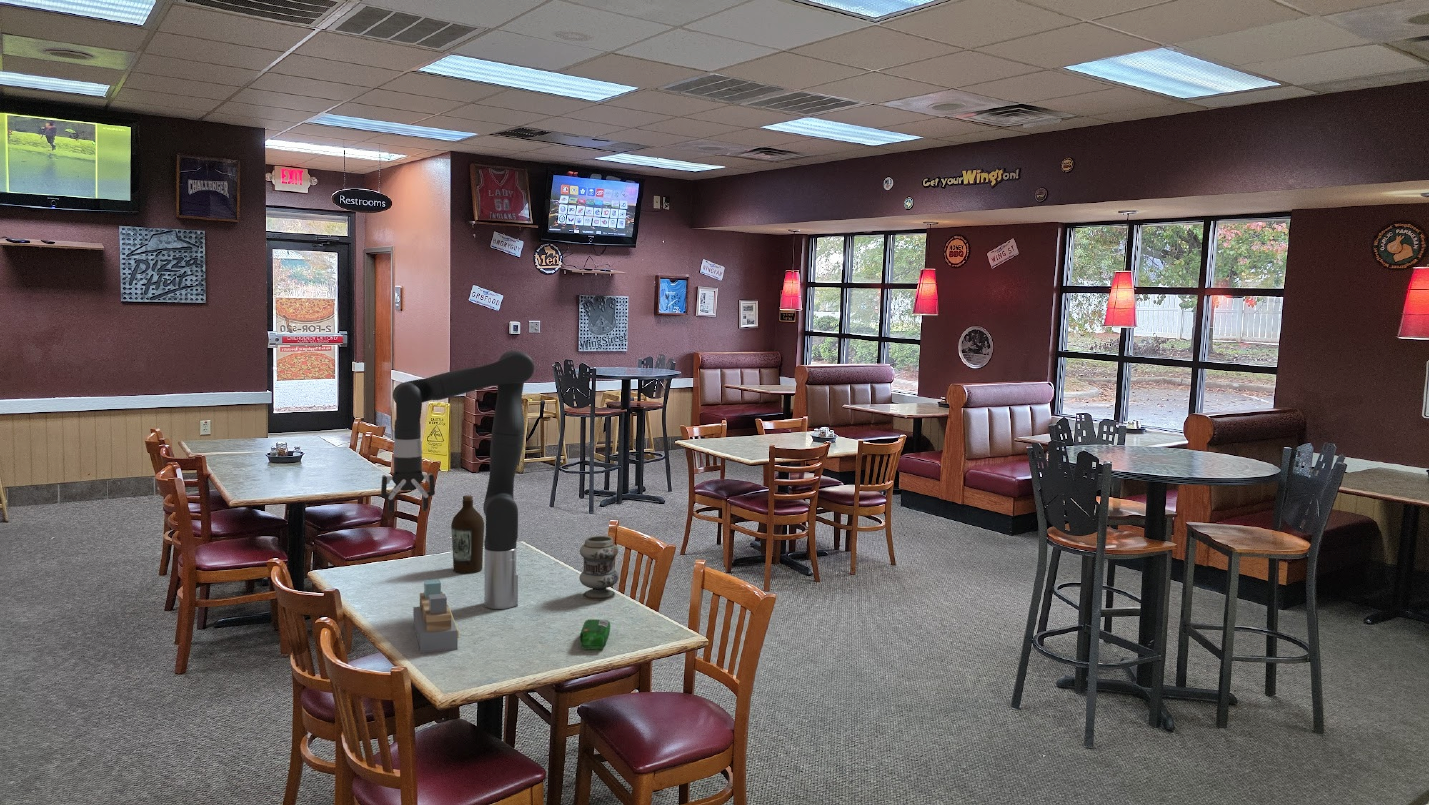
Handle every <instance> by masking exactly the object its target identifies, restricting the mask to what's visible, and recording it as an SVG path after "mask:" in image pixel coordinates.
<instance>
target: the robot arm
mask: <svg viewBox="0 0 1429 805" xmlns="http://www.w3.org/2000/svg"><path fill="white" fill-rule="evenodd" d="M534 372H535V363H534V360H533V359H532V357H531V356H529V354H526V353H525V352H523V351H518V350H509V351H506V352H504V353H503V354H502V355H501V356H500V358H499V360H497V361H495V362H492V363H489V364H485V365H480V366H475V367H470V368H462V369H457V370H453V371H447V372H442V373H440V374H436V375H431V376H429V377H426V378H425V377H424V378H419V379H413V380H408V381H405V382H404V381H403V382H401V383H399V384H398V385H396V386H395V387H394V388H393V392H392V398H393V401H394V403H395V409H396V410H395V411H396V414H395V415H396V418H395V420H394V425H393V426H394V428H393V431H394V432H393V433H394V436H393V437H394V442H393V474H392V475H382V476H381V486H380V487H381V488H380V489H381V490H380V496H381V498H383V499H387V504H388V508H387V509H388V511H389V512H390V514H395V502H394V501H395V500H394V498H395V496H396V495H397V494H399V491H402V492H406V491H412V492H413V491H415V490H418V492H420V494H421V495H422V501H421V502H422V511H423V512H426V510H428V509H429V497H432V496H435V493H436V490H435V488H436V487H435V476H434V475H433V474H434V473H431V472H430V473H428V474H423V445H422V438H421V437H422V433H421V432H422V430H421V429H422V428H421V426H422V425H421V418H422V409H423V408H422V407H423V403H427V402H429V401H441V400H445V399H450V398H452V397H457V396H459V395H463V394H467V393H470V392H473V391H478V390H480V389H485V388H489V387H490V388H491V387H495V386H497V392H496V393H497V396H496V401H495V403H496V404H495V409H494V415H493V420H492V421H493V422H492V429H491V435H490V436H491V437H490V449H489V452H490V454H489V477H488V483H487V487H486V488H487V489H486V493H485V497H484V501H483V506H482V508H483V509H482V510H483V514H484V516H485V535H484V536H485V537H484V540H483V559H484V562H483V564H484V565H483V566H484V573H483V574H484V576H483V577H484V583H483V584H484V585H483V586H484V589H483V590H484V606H485V608H487V609H492V610H493V609H494V610H505V609H510V608H513V607H517V606H519V595H518V594H519V575H518V573H517V541H518V538H519V537H518V536H519V534H518V532H519V508H518V504H517V503H516V501H515V498H514V496H515V495H514V491H515V490H514V489H515V488H514V486H515V485H514V484H515V476H516V472H517V468H518V465H519V462H520V459H521V456H522V453H523V447H524V438H525V436H524V435H525V418H524V411H523V410H524V409H523V401H522V400H523V399H522V398H523V390H524V384H525V382H527V381H528V380H530V379H531V378H532V376H533V374H534ZM424 480H425V481H426V482H427V483H428V487H429V490H428V491H426V490H425V489H424V487H423V486H422V485H421V484H422V482H423V481H424ZM391 481H392V482H393V484H395V485H394V486H393V487H392V489H391V491H390V492H389V493H387V488H388V486H387V485H389V484H390V482H391Z"/></svg>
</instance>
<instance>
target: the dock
mask: <svg viewBox="0 0 1429 805" xmlns="http://www.w3.org/2000/svg"><path fill="white" fill-rule="evenodd" d="M448 607H449V605H448ZM412 608H413V609H412V610H413V619H412V620H413V629H414V631H415V635H416V639H417V642H418V646H419V650H420V653H421V654H425V653H427V654H428V653H434V652H435V653H436V652H444V651H445V652H446V651H454V650H458V640H459V638H460V636H459V635H460V632H459V628H458V626H457V623H456V621H455V619H454V616H453V614H452V610H451V609H450V607H449V610H450V613H451V630H442V631H432V632H427V630H426V622H424V620H423V610H420V606H413V607H412Z"/></svg>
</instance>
